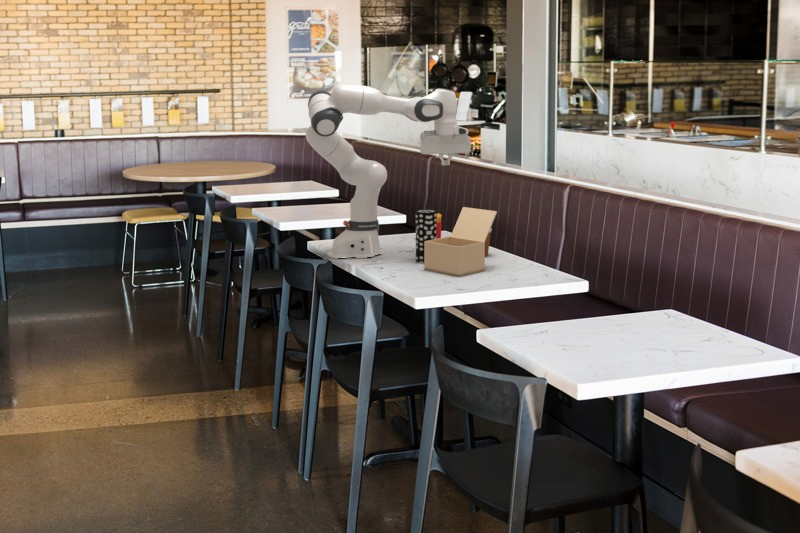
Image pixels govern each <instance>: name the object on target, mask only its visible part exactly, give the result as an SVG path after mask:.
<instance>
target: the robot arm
mask: <svg viewBox="0 0 800 533" xmlns="http://www.w3.org/2000/svg"><path fill="white" fill-rule="evenodd" d="M307 107H308V108H307V109H308V118H309V119H310V126H309V127H308V128H307V130H306V132H305V139H306V142H307V143H308V144H309V146H311V147H312V149H313V150H314V151H315V152H317V154H318V155H320V156H321V157H322V158H323V159H324V160H325V161H327V162H328V163H329V164H330V165H331V166H332V167H333V168H335V170H336V171H337V172H338V173H339V176H340V178H341V179H342V180H343V181H344V182H345V183H347V184H349V185H351V186H356V187H355V191H354V195H353V197H352V198H351V200H350V203H349V206H350V207H349V208H350V209H349V210H350V211H349V212H350V215H349V216H350V218H349V220H343V222H342V224H343V226H344V227H345V230H344V231H342V232H341V233H339V235H338V236H337V237H335V238H334V239H333V241H332V245H331V246H332V248H331V250H328V251H327V252H326V255H327V257H328V258H331V259H336V260H339V259H338V258H342V257H356V258H355V259H368V258H367V257H372V258H374V257H376V256H375V255H378V254H380V255H382V254H381V253H383V252H382V248H381V244H380V239H379V231H380V222H379V219H378V200H379V195H380V192H381V188H382V186H384V185H385V183H386V181H387V179H388V170H387V169H386V166H384V165H383V164H381V163H380V162H378V161H377V160H370V159H365V158H362V157H361V156H359V155H358V154H357V153H356V152H355V150H354V146H353V145H352V144H351V143H349V142H348V141H347V140H346V139H345V138H344V137H343V136H342V135H341V134H339V133H338V132H337V131H338V129H339V126H340V124H341V123H342V121H343V119H344V115H343V114H347V113H350V114H356V115H364V116H373V115H375V116H376V115H378V113H379V114H380V113H391V114H397V115H403V116H405V117H406V118H408V119H409V120H411V121H413V122H420V123H429V122H432V121H433V122H434V129H433V130H424V131H422V132H421V133H420V135H419V136H420V138H419V140H420V147H419V148H420V149H419V151H420V153H421V154H422V155H438V157H439V159H440V161H441V164H440V165H441V166H450V164H451V160H452V158H453V154H469V153H470V152H471V150H472V143H471V138H470V136H469V133H470V132H469V129H468V128H465V127H462V126H460V125H458V122H457V113H458V110H457V109H458V104H457V96H456V92H455V91H454V90H452V89H449V88H441V87H439V88H438V87H437V88H436V89H435V90H434V91H432V92H430V93H429V94H427V95H424V96H420V95H416V96H411V97H408V98H405V97H404V98H403V97H396V96H390V95H386V94H384V93H382V92H381V91H380V90H379V89H378V88H374V87H372V86H368V85H362V84H355V83H353V84H352V83H342V84H337V85H335V86H334V87H333V89H332V90H331V93H330V92H329V91H327V90H317V91H314V92H313V93H312V94H311V95H310V96H309V98H308V103H307ZM445 154H446V155H447V159H446V160H444V155H445ZM373 256H374V257H373ZM378 256H379V255H378Z"/></svg>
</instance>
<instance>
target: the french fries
mask: <svg viewBox="0 0 800 533" xmlns="http://www.w3.org/2000/svg"><path fill="white" fill-rule="evenodd" d="M439 238H442V214H441V213H437V239H439Z"/></svg>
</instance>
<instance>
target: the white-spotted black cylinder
mask: <svg viewBox="0 0 800 533" xmlns="http://www.w3.org/2000/svg"><path fill="white" fill-rule="evenodd" d="M437 212H438V211H437V210H435V209H417V210H415V262H416V263H419V264H424V241H428V240H434V239H437V214H438V213H437Z"/></svg>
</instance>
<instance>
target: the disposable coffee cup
mask: <svg viewBox="0 0 800 533" xmlns="http://www.w3.org/2000/svg"><path fill="white" fill-rule="evenodd" d="M492 230H493V229H492V227H491V228H490V231H489V233H488V235H487V238H486V240H485V258H486V257H488V255H489V248H490V243H491V242H490V241H491V234H492Z"/></svg>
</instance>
